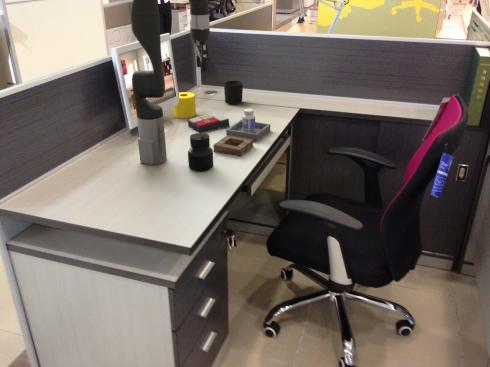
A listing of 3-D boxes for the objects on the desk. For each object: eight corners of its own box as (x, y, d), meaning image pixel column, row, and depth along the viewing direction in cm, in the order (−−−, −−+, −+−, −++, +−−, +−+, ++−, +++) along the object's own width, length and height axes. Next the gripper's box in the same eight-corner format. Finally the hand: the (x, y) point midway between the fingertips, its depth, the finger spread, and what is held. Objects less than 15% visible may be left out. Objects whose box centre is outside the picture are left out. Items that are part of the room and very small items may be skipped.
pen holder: (246, 101, 242) (246, 82, 238) (236, 106, 235) (236, 86, 231) (231, 98, 247) (230, 79, 242) (220, 103, 240) (220, 83, 235)
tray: (256, 141, 193) (256, 134, 191) (226, 136, 198) (226, 129, 197) (270, 130, 204) (270, 124, 203) (241, 126, 210) (241, 119, 208)
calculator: (187, 118, 209) (216, 111, 216) (188, 127, 211) (217, 119, 218) (199, 125, 201) (229, 117, 207) (199, 135, 203) (229, 126, 209)
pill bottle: (254, 129, 203) (254, 107, 199) (255, 133, 199) (256, 111, 194) (241, 130, 203) (241, 108, 198) (243, 134, 198) (242, 112, 194)
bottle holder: (240, 157, 179) (240, 149, 178) (213, 152, 184) (213, 144, 182) (253, 146, 188) (253, 139, 187) (227, 141, 193) (227, 135, 191)
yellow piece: (183, 110, 230) (181, 91, 226) (199, 113, 226) (199, 94, 221) (170, 115, 222) (168, 96, 218) (187, 119, 218) (185, 99, 214)
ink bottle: (219, 165, 172) (218, 134, 167) (205, 174, 165) (203, 142, 160) (197, 160, 177) (195, 129, 171) (182, 168, 170) (180, 137, 164)
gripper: (186, 25, 187) (188, 66, 194) (194, 29, 175) (196, 73, 182) (205, 24, 189) (206, 65, 196) (213, 28, 177) (215, 72, 184)
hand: (201, 69), depth 189 cm, fingers open, 8 cm apart
